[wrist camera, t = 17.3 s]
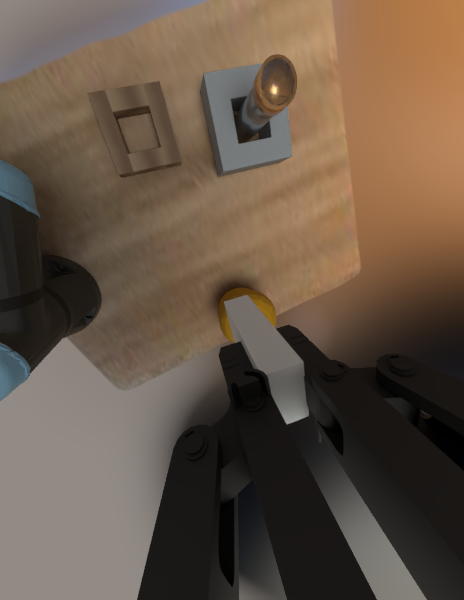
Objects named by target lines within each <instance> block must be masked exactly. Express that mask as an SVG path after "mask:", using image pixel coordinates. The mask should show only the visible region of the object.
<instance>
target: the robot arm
mask: <svg viewBox="0 0 464 600" xmlns="http://www.w3.org/2000/svg"><path fill="white" fill-rule="evenodd" d="M38 219H40V214H39V212H38V211H37V207H36V200H35V194H34V188H33V185H32V182H31V181H30V179H29V178H28V177H27V176H26V175H25V173H24V172H22V171H21V170H19V169H18V168H17V167H15V166H13V165H11V164H10V163H8V162H6V161H3V160H1V159H0V401H1V400H2V399H4V398H5V397H7V396H8V395H9V394H10V393H11V392H12V391H13V390H14V389H15V388H16V387H18V386H19V385H20V384H22V383H24V382H25V381H26V380H27V379H28V377H29V376H30V375H29V374H30V373H31V372H32V371H33V370H34V369H35V368H36V367H37V366H38V364H39V363H40V362H41V361H42V360H43V359H44V358H45V357H46V356H47V355H48V354H49V353H50V351H51V350H52V349H53V348H54V347H55V346H56V345H57V344H58V343H59V342H60V341H61V339H62V338H65V337H67V336H70V335H72V334H75V333H77V332H79V331H81V330H83V329H84V328H85V327H87V326H88V325H89V324H90V323H91V322H92V321H93V319H94V318H95V317H96V315H97V314H98V312H99V310H100V306H101V294H100V290H99V287H98V285H97V283H96V281H95V280H94V279H93V277H92V276H91V275H90V274H89V273H88V272H87V271H86V270H85V269H84V268H82V267H81V266H79V265H78V264H76V263H74V262H72V261H70V260H68V259H65V258H62V257H58V256H52V255H41V245H40V235H39V225H38ZM224 305H225V309H226V312H227V316H228V320H229V324H230V328H231V331H232V335H233V339H234V341H235V343H234V344H231V345H228V346H224V347H221V349H220V353H219V358H220V362H221V365H222V369H223V372H224V376H225V379H226V383H227V387H228V394H229V397H230V400H231V401H230V406H229V409H228V411H227V412H226V414H225V415H224V416H223V417H222V418H221V419H220V420H219V421H218V422H216V423H215V424H214V425H212V426H211V427H209V426H207V425H196V426H193V427H190V428H189V429H188V430H186V431H185V432H184V433H183V434H182V435H181V436H180V437H179V439H178V440H177V442H176V444H175V447H174V449H173V454H172V457H171V462H170V466H169V470H168V474H167V478H166V482H165V486H164V490H163V495H162V499H161V503H160V507H159V511H158V515H157V519H156V524H155V528H154V532H153V536H152V541H151V544H150V548H149V553H148V557H147V561H146V565H145V569H144V574H143V577H142V582H141V586H140V591H139V594H138V598H137V600H239V570H238V569H239V568H238V496H237V494H238V493H239V492H240V491H241V490H242V489H243V488H244V487H245V486H246V485H247V484H248V483H249V482H250V481H252V480H254V484H255V488H256V491H257V495H258V498H259V502H260V505H261V509H262V512H263V516H264V519H265V523H266V526H267V530H268V533H269V537H270V541H271V544H272V547H273V551H274V555H275V558H276V562H277V565H278V569H279V573H280V576H281V579H282V583H283V587H284V590H285V594H286V597H287V600H377V599H376V597H375V595H374V593H373V591H372V590H371V587H370V585H369V583H368V582H367V580H366V578H365V576H364V574H363V572H362V570H361V568H360V566H359V564H358V562H357V561H356V558H355V556H354V554H353V552H352V550H351V549H350V547H349V545H348V543H347V541H346V539H345V537H344V535H343V533H342V531H341V529H340V527H339V525H338V523H337V521H336V519H335V517H334V516H333V514H332V512H331V510H330V508H329V506H328V504H327V502H326V500H325V498H324V496H323V494H322V492H321V490H320V488H319V486H318V484H317V482H316V481H315V479H314V477H313V475H312V473H311V471H310V469H309V467H308V465H307V463H306V461H305V459H304V458H303V455H302V454H301V452H300V449H299V447H298V445H297V444H296V442H295V440H294V438H293V436H292V434H291V432H290V430H289V428H288V426H287V424H289V423H292V422H294V421H297V420H300V419H302V418H305V417H307V416H309V411H308V407H309V408H310V410H311V411H312V413H313V414H314V416H315V423H316V435H317V439H318V441H319V442H322V437H321V435H322V436H323V438H324V439H325V441H326V443H327V444H328V446H329V447H330V449H331V451H332V452H333V453H334V455H335V457H336V458H337V460H338V461H339V463H340V464H341V466H342V467H343V469H344V471H345V472H346V474H347V476H348V477H349V479H350V480H351V482H352V483H353V485H354V486H355V488H356V490H357V491H358V493H359V494H360V496H361V497H362V499H363V500H364V502H365V504H366V505H367V507H368V508H369V510H370V511H371V513H372V515H373V516H374V518H375V519H376V521H377V522H378V524H379V525H380V527H381V529H382V530H383V532H384V533H385V535H386V536H387V538H388V539H389V541H390V543H391V544H392V546H393V547H394V549H395V550H396V552H397V554H398V555H399V557H400V558H401V560H402V561H403V563H404V564H405V566H406V568H407V569H408V571H409V572H410V574H411V575H412V577H413V578H414V580H415V581H416V583H417V585H418V586H419V588H420V589H421V591H422V592H423V594H424V596H425V597H426V599H427V600H464V381H463V380H461V379H459V378H457V377H454V376H452V375H450V374H448V373H445V372H443V371H441V370H439V369H436V368H434V367H432V366H430V365H427V364H425V363H423V362H421V361H418V360H416V359H414V358H411V357H408V356H405V355H400V354H386V355H384V356H381V357H380V358H379V359H378V360H377V363H376V367H368V368H350V367H348V366H347V365H345V364H344V363H342V362H339V361H336V360H329V359H328V358H327V357H326V356H325V355H324V354H323V353H322V352H321V351H320V350H319V349H318V348H317V347H316V346H315V345H314V344H313V343H312V342H311V341H309V339H308V338H307V337H306V336H304V334H303V333H302V332H301V331H299V330H298V329H297V328H295V327H292V326H290V325H287V326H283V327H280V328H277V329H275V327H274V326H273V325H272V324H271V323H270V321H269V320H268V319H267V318H266V317H265V315H264V314H263V313H262V312H261V311H260V309H259V308H258V307H257V306H256V305H255V304H254V302H253V301H252V300H251V299H250V298H249V296H248V295H244V296H241V297H238V298H234V299H231V300H228V301H225V302H224ZM421 410H422V411H424V412H426V413H427V414H429V415H425V414H423V413H421Z"/></svg>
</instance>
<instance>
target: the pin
mask: <svg viewBox="0 0 464 600" xmlns="http://www.w3.org/2000/svg"><path fill="white" fill-rule="evenodd" d="M296 89H297V75H296V71H295V68H294V66H293V64H292V63H291V62H290V60H289V59H288V58H286V57H285V56H283V55H278V54H277V55H272V56H270V57H269V58H267V59H266V60H265V62H264V63H263V65H262V66H261V68H260V70H259V72H258V73H257V75H256V77H255V79H254V83H253V88H252V89H251V91H250V93H249V94H248V96H247V98H246V100H245V101H244V103H243V105H242V106H241V108H240V110H239V111H238V113H237V115H236V117H235V118H234V122H235V128H236V133H237V139H238V143H239V144H242V143H247V142H249V141H250V140H251V139H252V138H253V137H254V136H255V134H256V133H257V132H258V131H259V130H260V129H261V128H262V127H263V126H264V125H265V124H266V123H267V122H268V121H269V120H270V119H271V118H272V117H273V116H275V115H278V114H279V113H280V112H282V111H283V110H284V109H285V108H286V107H287V106H288V105H289V104H290V102H291V101H292V100H293V98H294V96H295V93H296Z"/></svg>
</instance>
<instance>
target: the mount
mask: <svg viewBox="0 0 464 600" xmlns="http://www.w3.org/2000/svg"><path fill="white" fill-rule="evenodd" d="M87 94H88V96H89V99H90V102H91V104H92V107H93V109H94V112H95V115H96V117H97V120H98V122H99V125H100V128H101V130H102V133H103V135H104V138H105V141H106V143H107V146H108V148H109V151H110V154H111V156H112V159H113V161H114V164H115V167H116V169H117V172H118V174H119V176H121V177H127V176H131V175H136V174H141V173H145V172H150V171H154V170H159V169H164V168H168V167H173V166H177V165H181V159H180V156H179V152H178V148H177V145H176V141H175V137H174V134H173V130H172V126H171V123H170V119H169V115H168V112H167V108H166V104H165V101H164V97H163V93H162V90H161V86H160V82H159V81H158V82H152V83H146V84H140V85H134V86H128V87H122V88H116V89H110V90H104V91H98V92H92V93H87ZM146 113H151V115H152V118H153V122H154V125H155V128H156V132H157V135H158V138H159V142H160V145H161V147H160V148H155V149H150V150H145V151H140V152H135V153H129V151H128V148H127V145H126V142H125V139H124V136H123V134H122V131H121V128H120V125H119V122H118V119H119V118H124V117H130V116H135V115H140V114H146Z"/></svg>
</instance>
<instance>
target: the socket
mask: <svg viewBox="0 0 464 600" xmlns="http://www.w3.org/2000/svg"><path fill="white" fill-rule="evenodd" d="M262 65H263V64H257V65H251V66H245V67H239V68H233V69H227V70H221V71H215V72H209V73H203V79H202V84H201V90H200V94H201V98H202V103H203V107H204V112H205V117H206V121H207V126H208V131H209V135H210V140H211V144H212V149H213V154H214V158H215V163H216V168H217V172H218V177H219V176H223V175H228V174H232V173H236V172H241V171H245V170H250V169H254V168H258V167H263V166H267V165H271V164H276V163H280V162H282V161H284V160H286V159H288V158H290V157H292V150H291V139H290V128H289V116H288V106H287V107H286V108H285V109H284V110H283V111H282V112H280V113H279V114H278V115H275V116H273V117H272V118H271V119H270V120H269V121H268V122H267V123H266V124H265V125H264V126H263V127H262V128H261V129H260V130H259V137H260V140H256V141H251V142H247V143H242V144H238V139H237V133H236V128H235V122H234V116H233V111H239V110H240V108H241V106H242V105H243V103H244V101H245V100H246V98H247V96H248V94H249V93H250V91H251V89H252V88H253V83H254V79H255V77H256V75H257V73H258V72H259V70H260V68H261V66H262Z"/></svg>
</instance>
